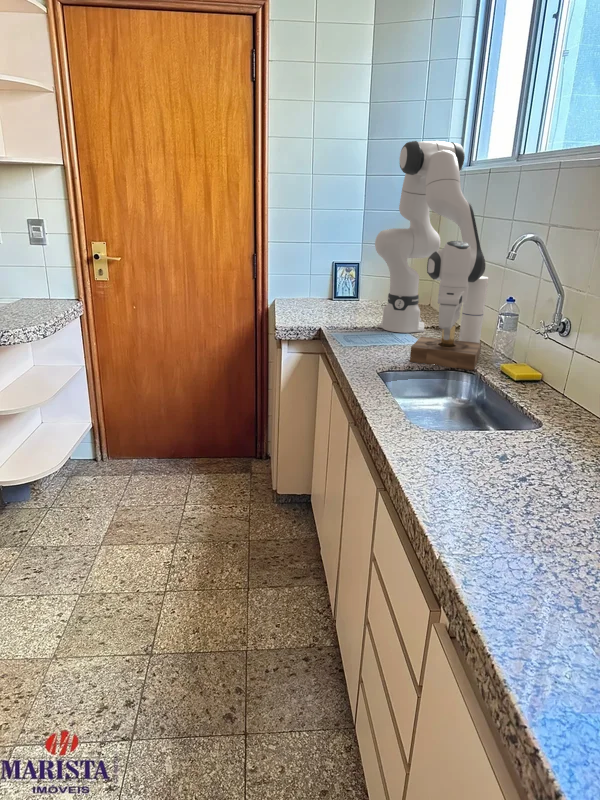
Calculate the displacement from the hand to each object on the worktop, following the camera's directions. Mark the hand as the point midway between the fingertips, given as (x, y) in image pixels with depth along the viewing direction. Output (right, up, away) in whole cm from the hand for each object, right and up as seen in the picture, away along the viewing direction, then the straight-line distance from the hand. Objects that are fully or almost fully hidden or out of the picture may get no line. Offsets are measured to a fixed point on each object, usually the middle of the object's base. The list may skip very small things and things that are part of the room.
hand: (447, 337), depth 179 cm
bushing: (0, -4, +1) cm, 4 cm away
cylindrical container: (+12, -2, +17) cm, 21 cm away
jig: (0, -7, +3) cm, 7 cm away
